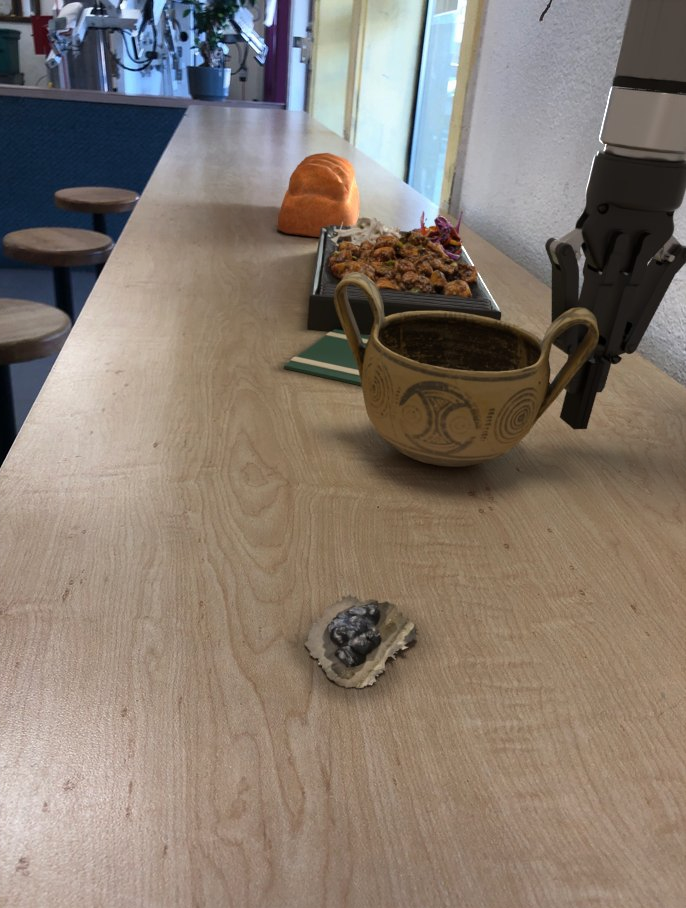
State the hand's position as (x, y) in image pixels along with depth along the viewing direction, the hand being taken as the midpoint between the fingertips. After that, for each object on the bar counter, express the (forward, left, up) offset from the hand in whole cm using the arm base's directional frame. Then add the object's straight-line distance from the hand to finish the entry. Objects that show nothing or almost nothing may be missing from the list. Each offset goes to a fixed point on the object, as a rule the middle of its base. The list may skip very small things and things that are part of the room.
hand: (572, 422), depth 74 cm
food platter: (+32, -45, -3) cm, 55 cm away
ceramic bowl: (+11, +7, -3) cm, 13 cm away
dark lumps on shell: (+8, +36, -3) cm, 37 cm away
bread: (+61, -87, -3) cm, 106 cm away
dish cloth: (+22, -13, -3) cm, 26 cm away
